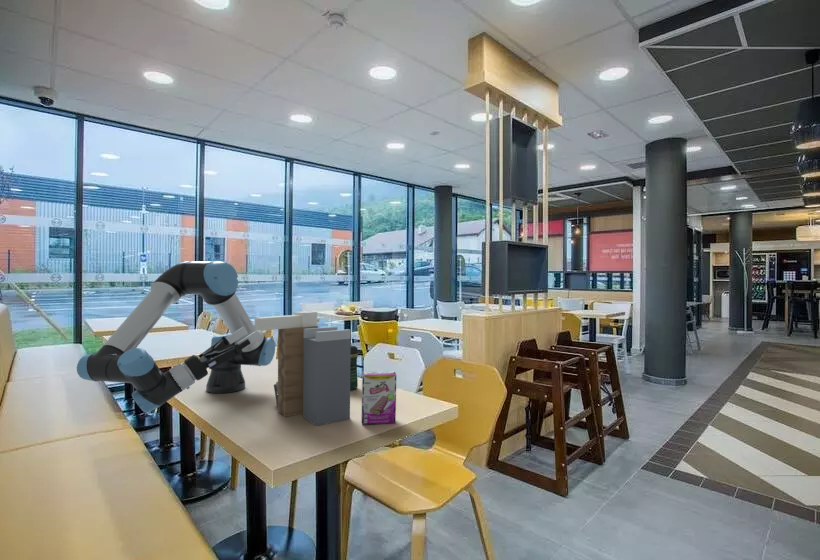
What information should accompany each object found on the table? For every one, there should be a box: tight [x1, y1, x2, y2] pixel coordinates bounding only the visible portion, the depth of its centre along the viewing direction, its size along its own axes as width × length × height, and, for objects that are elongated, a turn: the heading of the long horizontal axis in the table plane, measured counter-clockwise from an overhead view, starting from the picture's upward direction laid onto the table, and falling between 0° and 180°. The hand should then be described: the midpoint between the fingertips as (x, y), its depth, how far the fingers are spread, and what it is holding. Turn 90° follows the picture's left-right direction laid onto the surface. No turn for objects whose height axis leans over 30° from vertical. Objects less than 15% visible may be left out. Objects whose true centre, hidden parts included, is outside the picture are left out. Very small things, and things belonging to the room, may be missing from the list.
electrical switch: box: [273, 381, 278, 406], centre depth 161 cm, size 9×5×9 cm, turn 141°
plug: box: [254, 310, 320, 332], centre depth 149 cm, size 6×22×5 cm, turn 135°
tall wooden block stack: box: [277, 325, 319, 417], centre depth 152 cm, size 7×12×30 cm, turn 127°
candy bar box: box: [360, 370, 397, 426], centre depth 141 cm, size 11×5×16 cm, turn 99°
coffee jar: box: [350, 345, 359, 391], centre depth 183 cm, size 10×8×19 cm
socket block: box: [302, 326, 352, 426], centre depth 145 cm, size 11×12×30 cm
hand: (251, 332), depth 142 cm, fingers open, 13 cm apart
